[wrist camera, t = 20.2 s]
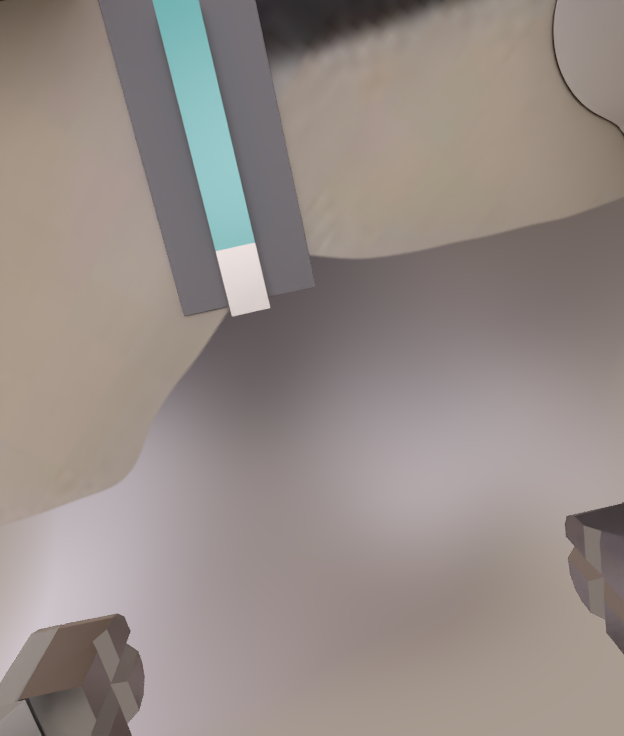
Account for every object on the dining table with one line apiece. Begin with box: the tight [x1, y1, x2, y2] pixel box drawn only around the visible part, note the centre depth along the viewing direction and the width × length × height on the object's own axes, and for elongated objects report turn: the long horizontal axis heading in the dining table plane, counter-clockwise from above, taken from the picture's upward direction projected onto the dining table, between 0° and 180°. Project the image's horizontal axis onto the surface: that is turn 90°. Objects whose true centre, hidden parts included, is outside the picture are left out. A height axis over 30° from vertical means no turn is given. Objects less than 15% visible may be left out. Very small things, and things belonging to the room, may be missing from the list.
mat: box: [98, 0, 315, 316], centre depth 40 cm, size 11×24×1 cm, turn 12°
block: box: [152, 0, 270, 317], centre depth 39 cm, size 3×22×3 cm, turn 12°
